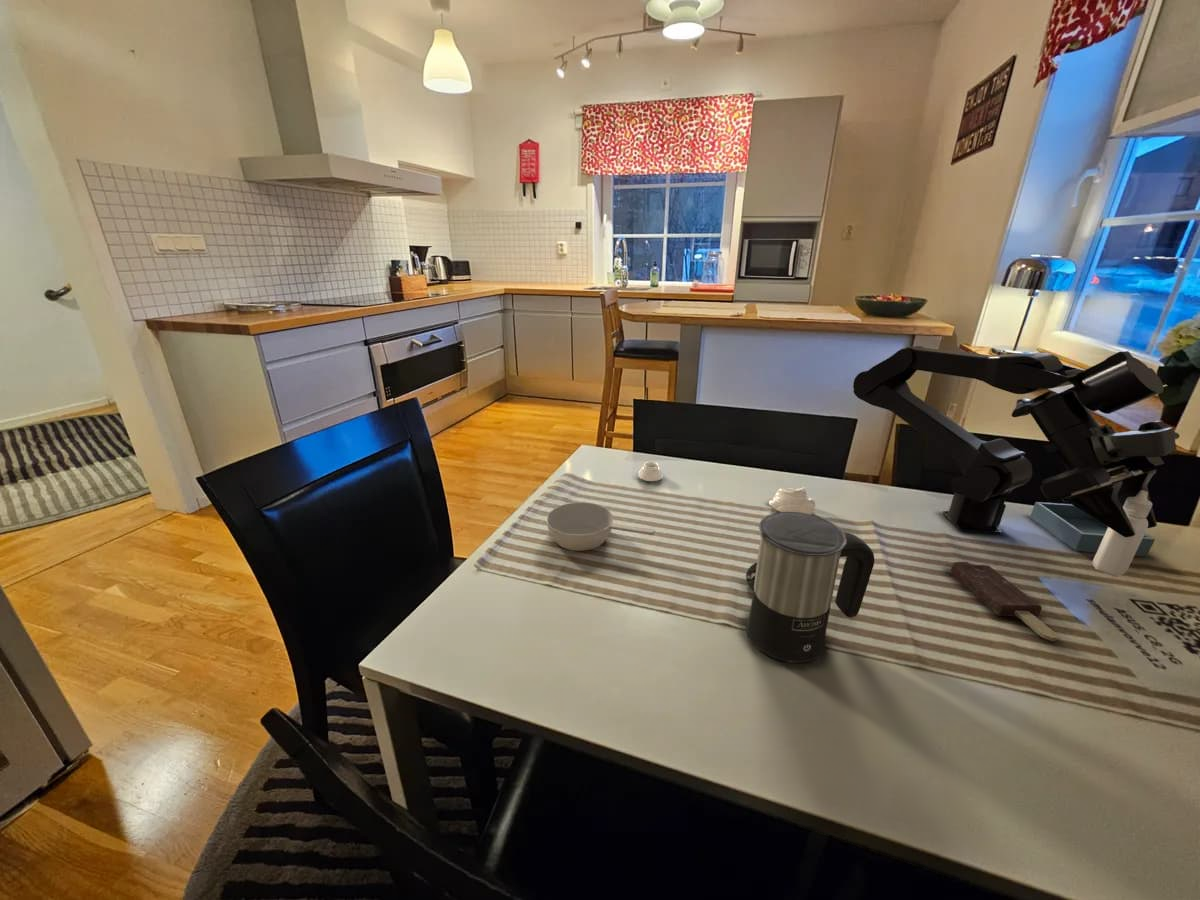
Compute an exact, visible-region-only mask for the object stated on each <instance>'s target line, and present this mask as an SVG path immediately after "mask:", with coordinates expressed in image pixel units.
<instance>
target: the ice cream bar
mask: <svg viewBox="0 0 1200 900" xmlns="http://www.w3.org/2000/svg"><path fill="white" fill-rule="evenodd" d="M949 571H950V575H951V576H952V577H953V578H954V580H956V581H958V582H959V583H960V584H961V585H962V586H963V587H964V588H965V589H966V590H967V591H969V593H971V594H972V595H973V596H974V597H976V598H977V600H979V601H980V602H981V603H983V604H984V605H985V606H986V607H987V608H988V609H989V610H990V611H992V613H994V614H995V615H996V616H998V617H1015V616H1016V617H1017V618H1018V619H1020V620H1021V621H1022V622H1023V623H1024V624H1025V625H1027V626H1028V627H1029V628H1031V629H1032V631H1034V632H1035V633H1037V635H1039V636H1040V637H1041V638H1043V639H1044V640H1046V641H1051V642H1055V641H1057V639H1058V634H1057V633H1056V632H1055V631H1053V629H1052V628H1050V627H1049V626H1047V625H1046V624H1045V623H1044V622H1043V621H1042V620H1040V619H1039V618H1038V617H1039V616H1040V615H1041V612H1042V609H1043V607H1042V606H1041V604H1039V603H1038V602H1037V601H1036V600H1034V599H1033V598H1031V597H1030V596H1029V595H1028V594H1026V593H1025V592H1024V591H1022V590H1021V589H1020V588H1019V587H1017V586H1016V585H1015V584H1013V583H1012V582H1011V581H1009V580H1008V579H1007V578H1006V577H1005V576H1003V575H1001V573H999V572H998V571H996V570H995V569H994V568H993V567H991V566H990V565H987V564H974V563H971V562H968V561H955V562H953V563H952V564H951V567H950V570H949ZM1037 616H1038V617H1037Z"/></svg>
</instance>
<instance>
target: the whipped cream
mask: <svg viewBox="0 0 1200 900" xmlns="http://www.w3.org/2000/svg"><path fill="white" fill-rule="evenodd" d="M768 504H769V505H770V506H771V507H773V508H774V509H775V511H778V512H801V513H805V514H810V515H814V512H815V508H816V506H817V505H816V501H815V499H814V498H813V497H808V493H807V489H806V488H805V487H804V486H803V487H800V488H792V487H791V488H788V487H780V488H779V489H778V490H777V491H776V493H775V495H774V497H772V500H769V501H768Z"/></svg>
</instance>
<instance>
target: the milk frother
mask: <svg viewBox="0 0 1200 900" xmlns="http://www.w3.org/2000/svg"><path fill="white" fill-rule="evenodd" d="M758 525H759V526H758V528H759V529H758V530H759V531H760V538H759V546H758V552H757V560H756V562H754V563H753V564H752V565H750V566H749V567H748V569H747V570H746V573H745V577H746V578H745V579H746V583H747V585H748V587H749V588H750V589H751V590H752V597H751V604H750V610H749V615H748V617H747V618H746V621H745V632H746V635H747V637H748V639H749V641H750V642H751V643H752V645H753V646H755V647H756V648H757V649H758V650H759V651H761V652H762V653H764V654H765V655H767V656H769V657H771V658H774V659H775V660H779V661H781V662H785V663H791V664H804V663H810V662H813V661H815V660H817V659H819V658H820V656H822V655H823V653H824V652H825V651H826V650H825V649H826V647H827V646H826V645H827V642H826V634H827V628H828V627H827V626H828V622H829V618H830V617H829V616H830V611H831V606H832V600H833V595H834V591H835V585H836V580H837V575H838V570H839V564H840V560H841V559H840V558H844V557H845V561H844V564H843V567H842V572H841V576H840V579H839V583H838V584H839V585H838V588H837V591H836V595H835V601H834V602H835V605H836V607H837V608H838V609H839V610H840V612H841V613H842V614H843V615H845V617H847V618H851V619H852V618H853V617H856V616H857V615H858V614H859V612H860V609H861V606H862V604H863V600H864V597H865V594H866V591H867V589H868V584H869V581H870V579H871V576H872V572H873V569H874V566H875V554H874V552H873V550H872V549H871V547H870V546H869V545H868V544H867V543H866V542H865V541H864V540H863V539H862V538H860V537H859V536H857V535H856V534H853V533H850V532H849V531H848V532H847V531H843V530H842V529H841V528H840V527H839V526H838V525H837V524H835V523H833V522H832V521H830V520H827V519H826V518H823V517H820V516H817V515H814V514H811V515H810V514H805V513H801V512H780V511H778V512H774V513H770V514H768V515H766V516H764V517H763V518H761V520H760V521H759V524H758Z"/></svg>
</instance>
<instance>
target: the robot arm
mask: <svg viewBox="0 0 1200 900" xmlns="http://www.w3.org/2000/svg"><path fill="white" fill-rule="evenodd" d="M917 371H920V372H921V371H922V372H928V373H933V374H934V373H935V374H941V375H948V376H954V377H959V378H960V377H962V378H967V379H974V380H977V381H981V382H983V383H985V384H987V385H989V386H991V387H993V388H996V389H999V390H1002V391H1005V392H1008V393H1011V394H1014V395H1026V394H1031V393H1036V392H1042V391H1046V390H1048V391H1046V392H1043V393H1042V394H1040V395H1038V396H1035V397H1034V398H1031V399H1029V398H1020V399H1019V398H1018V399H1017V400H1016V404H1015V407H1014V409H1013V411H1012V413H1011V417H1012V418H1019V417H1024V416H1028V415H1031V417H1032V419H1033V420H1034V421H1035V423H1036V424H1037V426H1038V427H1039V429H1040V430H1041V431H1042V433H1043V435H1044V436H1045V438H1046V439H1047V441H1048V443H1049V444H1047V445H1044V449H1045V450H1046V451H1047V453H1050V452H1052V453H1053V452H1055V453H1056V454H1057V456H1058V457H1059V459H1060V460H1061V462H1062V464H1063V465H1064V466H1065V468H1066V469H1065V470H1062V471H1061V473H1059V474H1056V475H1053V476H1051V477H1048V478H1044V479H1042V480H1041V484H1040V486H1039V490H1040V491H1041V493H1042V494H1043V496H1044V498H1045V499H1046V500H1047V501H1051V500H1053V499H1054V500H1055V499H1057V498H1061V497H1063V496H1067V495H1070V496H1067V497H1064V498H1061V500H1062V502H1064V503H1068V504H1072V505H1074V506H1075V507H1077V508H1079V509H1080V510H1082V511H1084V512H1086V513H1087V514H1089V515H1091V516H1092V517H1094V518H1095V519H1097V520H1099V521H1100V522H1102V523H1103V524H1105V525H1106V526H1108V527H1109V528H1111V529H1112V530H1114V531H1116V532H1117V533H1119V534H1120V535H1122V536H1123V537H1131V536H1134V535H1135V532H1134V529H1133V527H1132V525H1131V523H1130V521H1129V519H1128V517H1127V515H1126V513H1125V511H1124V509H1123V506H1124V503H1125V501H1126V499H1127V498H1128V497H1135V496H1136V495H1137V494H1138V493H1139V492H1140V491H1141V490H1143V491H1147V492H1148V495H1147V500H1148V501H1150V502H1151V503H1152V501H1151V498H1150V494H1149V493H1150V492H1149V489H1148V485H1149V482H1150V481H1151V479H1152V478H1153V476H1154V475H1155V474H1156V473H1157V469H1153V470H1149V471H1145V472H1143V471H1144V470H1147V469H1150V468H1151V469H1152V468H1155V467H1157V466H1160V465H1163V464H1164V465H1165V461H1164V460H1163V459H1162V457H1165V456H1168V455H1169V454H1170V453H1173V454H1174V453H1177V452H1178V449H1177V443H1176V440H1178V439H1179V438H1180V434H1179V433H1178V432H1176V431H1175V427H1173V426H1171V427H1169V426H1168V425H1167V424H1166V422H1164V421H1163V420H1154V421H1152V420H1151V421H1146V422H1142V423H1141V424H1140V425H1139V427H1138V429H1137V430H1129V431H1122V432H1116V430H1115V429H1114V428H1113V427H1112V426H1111V425H1108V424H1102V425H1100V424H1099V423H1098V421H1097V420H1096V418H1095V417H1094V415H1093V414H1092V412H1097V411H1099V412H1101V413H1103V414H1105V415H1109V414H1112V413H1115V412H1117V411H1119V410H1122V409H1125V408H1127V407H1129V406H1132V405H1134V404H1138V403H1139V402H1143V401H1144V400H1147V399H1149V398H1152V397H1155V396H1157V395H1159V394H1161V393H1163V392H1164V384H1163V382H1162V379H1161V378H1160V376H1159V375H1158V374H1157V372H1156V371H1155V370H1154V369H1153V368H1152V367H1149V366H1148V365H1147V364H1145V363H1144V362H1143V361H1142V360H1140V359H1138V358H1136V357H1135V356H1133V355H1132V354H1131V353H1130V351H1129V350H1122V351H1121V350H1120V351H1118V352H1116V353H1114V354H1112V355H1110V356H1108V357H1106V358H1105V359H1104V360H1102V361H1100V362H1097V364H1096V363H1095V364H1094V365H1092V366H1090V367H1088V368H1086V369H1082V368H1079V367H1076V366H1072V365H1067V364H1064V363H1063V362H1062V361H1061V360H1060V358H1059V357H1058V356H1056V355H1055V354H1052V353H1049V352H1035V353H1033V352H1032V353H1014V354H999V355H998V354H997V355H990V354H983V353H973V352H963V351H956V350H945V349H938V348H928V347H925V346H922V345H916V346H915V345H914V346H905V347H902V348H900V349H899V350H897V351H896V352H895V353H893V354H892V355H891V356H889V357H888V358H886V359H884V360H882V361H881V362H879V363H877V364H874V365H873V366H872V367H870V368H869V369H868V370H865V371H861V372H859V373H857V375H856V376H855V377H854V380H853V382H852V383H853V384H852V387H853V388H852V389H853V390H852V392H853V394H854V395H855V397H856V398H858V399H859V400H861V401H863V402H865V403H866V404H869V405H871V406H874V407H877V408H880V409H883V410H884V409H885V410H887V411H890V412H892V413H893V414H894V415H895V416H897V417H898V418H900V419H901V420H903V421H904V422H905V423H907V424H908V425H909V426H910V427H912V428H913V429H915V430H916V431H918V433H920V434H921V435H922V436H924V437H926V438H927V439H928V440H929V441H931V442H932V443H934V444H935V445H937V447H939V448H940V449H942V450H943V451H944V452H946V453H947V454H948V455H950V456H951V457H953V458H954V459H955V461H956V462H957V464H958V466H959V468H960V470H961V473H962V474H961V475H959V476H957V477H953V478H951V480H950V485H951V492H952V493H953V496H952V499H951V503H950V505H949V509H948V510H943V511H942V513H941V514H942V516H943V517H945V519H946V520H948V521H949V522H950V523H951V524H952V525H953V526H954V527H955V529H957V530H958V531H960V532H965V533H966V532H967V533H976V534H977V533H979V534H993V535H1002V532H1003V531H1002V530H1001V529H1000V528H999V526H1000V525H1001V521H1002V519H1003V516H1004V514H1005V513H1004V512H1005V510H1006V507H1007V505H1006V504H1005V502H1006V499H1007V497H1006V496H1005V495H1004V494H1009V493H1011V492H1012V491H1013V490H1014V489H1017V488H1020V487H1023V486H1025V485H1026V484H1027V483H1029V482H1030V480H1032V479H1031V478H1032V477H1033V468H1032V467H1033V464H1032V463H1031V462H1030V460H1029V459H1028V458H1027V457H1025V455H1026V452H1025V451H1022V450H1019V449H1017V448H1015V447H1014V446H1013V445H1011V444H1010V443H1009V442H1008V441H1007V440H1005V439H1003V438H996V439H993V440H989V441H986V440H982V439H980V438H978V437H976V435H974V434H973V433H972V432H969V430H966V429H965V428H964V427H962V426H961V425H959V424H958V423H957V422H955V421H953V420H952V419H951V418H949V417H948V416H946V415H945V414H943V413H942V412H940V411H939V410H937V409H936V408H935V407H933V406H932V405H930V404H929V403H927V402H925V400H923V399H921V398H920V397H919V396H916V395H915V394H914V393H913V391H912V390H911V387H910V386H909V384H908V382H907V381H909V380H910V379H911V378H912V377H913V376H914V375H915V373H916V372H917ZM1072 385H1073V386H1072ZM1066 386H1072V387H1070V388H1068V389H1065V390H1063V391H1061V392H1057V391H1053V390H1052V389H1055V388H1056V389H1057V388H1062V387H1066ZM1050 389H1051V390H1050ZM1146 519H1147V521H1148V528H1147V529H1151V528H1155V527H1157V526H1158V524H1157V520H1156V517H1155V512H1154V509H1153V506H1152V507H1151V509H1150V511H1149V513H1148V515H1147V517H1146Z"/></svg>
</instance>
